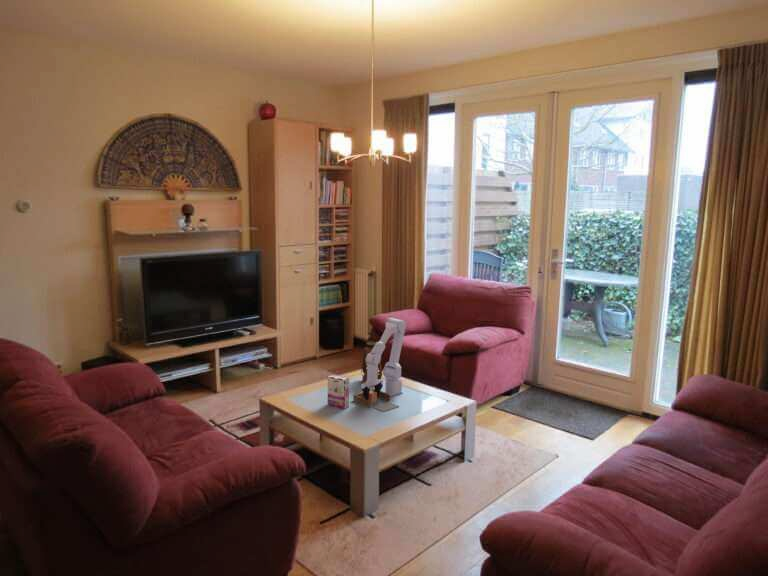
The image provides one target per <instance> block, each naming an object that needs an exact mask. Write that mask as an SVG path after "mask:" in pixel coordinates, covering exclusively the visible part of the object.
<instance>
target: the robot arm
mask: <svg viewBox="0 0 768 576" xmlns="http://www.w3.org/2000/svg"><path fill="white" fill-rule="evenodd" d="M406 326H407V324H406V322H405V321H404V320H402V319H398V318H394V317H388V318H387V320H386V323H385V329H384V331H383V334H382V335H381V337H380V340H379V341H377V342H376V344H375V346H374V348H373V349H372V351H371V353H369V354H366V359H365V360H366V363H367V364H366V365H367V366H368V367H367V368H366V369H367V381H366V382H365V383H364V384H362V383H361V385H360V389H361V392H363V393H364V397H365V398H364V399H366V400H368V398H369V391H370V390H371V389H370V388H369V387H374V389H375V392H377V398H379V397H378V396H379V393H380V391H382V392H384V393H387V394H389V395H390V397H392V396H397V395H400V394H402V393H403V390H402V389H403V381H402V378H401V376H402V366H401V365H400V363H399V361H400V357H401V356H400V355H401V352H402V347H403V341H404V336H405V334H406V333H405V331H406V329H407V327H406ZM392 334H393V340H392V341H393V342H392V344H391V345H392V347H391V350H390V356H389V361H386V362H385V364H384V368H382V376H384V378H385V388H384V391H383V390H382V388H383V386H384V380H383V379H382V378H381V379H379V380H377V377H378V375H379V374H378V372H379V370H378V369H379V368H378V364H379V362H380V359H381V360H382V354H383V352H384V351H385V349H386V344H387V342H388V340H389V339H390V337H391V336H392ZM373 385H374V386H373Z"/></svg>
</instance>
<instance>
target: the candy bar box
mask: <svg viewBox="0 0 768 576" xmlns="http://www.w3.org/2000/svg"><path fill="white" fill-rule="evenodd" d="M327 405H328V406H330V407H335V408H339V409H344V410H345V409H347V408H348V407H349V406H350V377H347V376H342V375H337V374H330V375H328V376H327Z"/></svg>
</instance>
